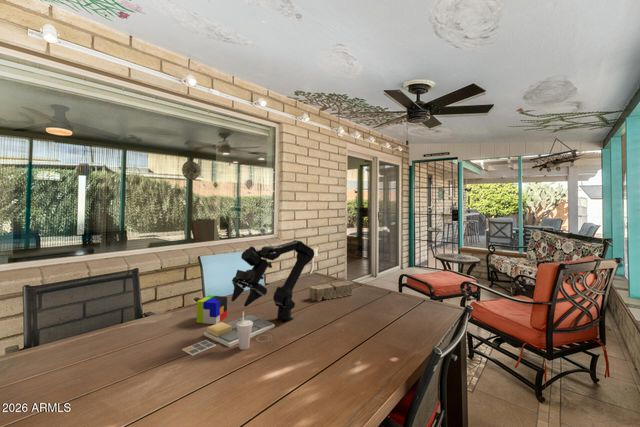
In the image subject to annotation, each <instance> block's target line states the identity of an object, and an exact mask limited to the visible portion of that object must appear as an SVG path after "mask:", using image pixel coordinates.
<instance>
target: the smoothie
mask: <svg viewBox="0 0 640 427" xmlns="http://www.w3.org/2000/svg"><path fill="white" fill-rule="evenodd" d="M244 317H245V311H242V318H243V319H242V320H241V321H238V322H237V323H236V327H237V332H238V341H239V343H238V348H239V349H240V350H242V351H243V350H248V349H249V348H250V344H251V343H250V341H251V338H250V336H251V329H252V326H253V322H252V321H250V320H244Z"/></svg>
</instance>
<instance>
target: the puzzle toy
mask: <svg viewBox="0 0 640 427" xmlns="http://www.w3.org/2000/svg"><path fill="white" fill-rule="evenodd" d="M227 317H228V296H222V295H209V294H208V295H207V296H205V297H203V298H200V299H199V300H197V301H196V323H200V324H208V325H209V324H210V325H215V324H218V323H220V322H223V320H224V319H227Z"/></svg>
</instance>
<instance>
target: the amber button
mask: <svg viewBox="0 0 640 427" xmlns="http://www.w3.org/2000/svg"><path fill="white" fill-rule="evenodd" d="M206 330H207V331H206V332H208V333H210V334H212V335H214V336H216V337H219V335H222V334H224V333H227V332H229V331H232V326H230V325H228V324H226V323H225V322H223V321H220V322H219V323H217V324H211V325H210V326H207V328H206Z"/></svg>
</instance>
